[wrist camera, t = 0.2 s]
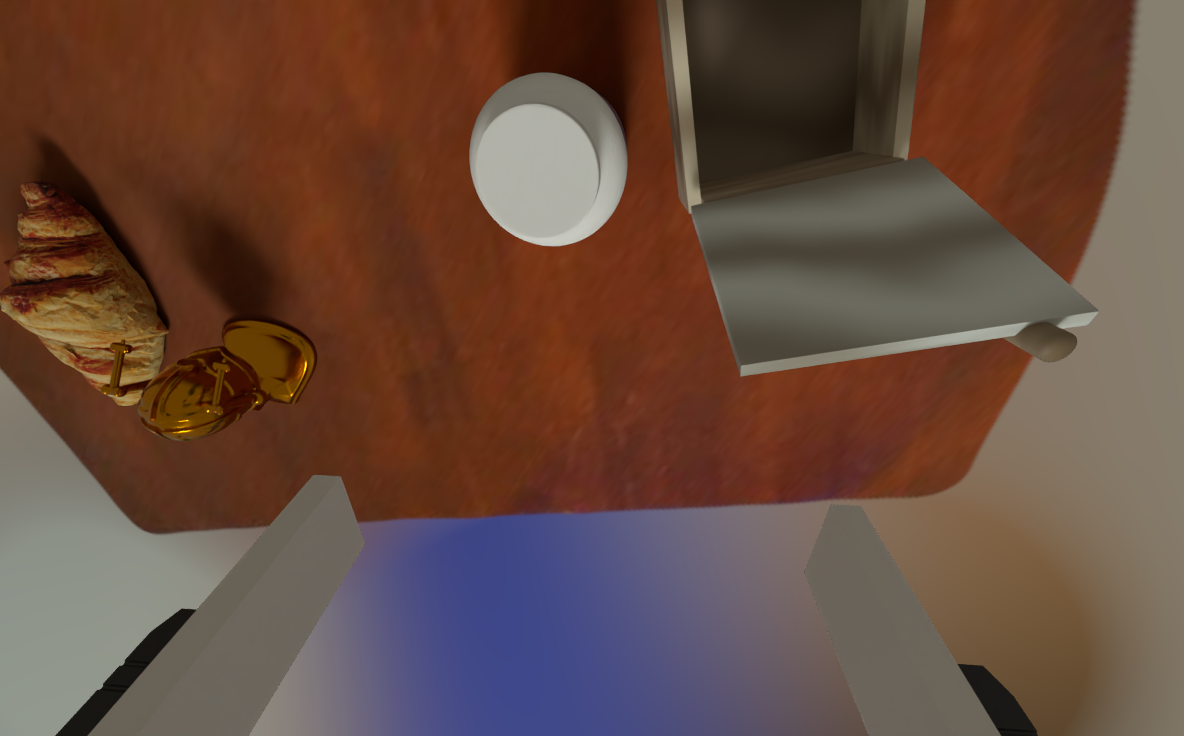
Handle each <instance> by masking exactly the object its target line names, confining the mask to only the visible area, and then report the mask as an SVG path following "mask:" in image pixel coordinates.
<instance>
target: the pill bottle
mask: <svg viewBox="0 0 1184 736" xmlns="http://www.w3.org/2000/svg"><path fill="white" fill-rule="evenodd" d="M627 167H628V163H627V144H626V137H625V132H624V129H623V125H622V123H621V121H620V119H619V117H618V115H617V113H616V111H615V110H614V108H613V107H612V106H611V105H610V104H609V102H608V101H607V100H606V99H605V98H604V97H602V96H601V95H600V94H598V93H597V92H596V91H594V90H593V89H591V88H590V87H589V86H587V85H585V84H584V83H582V82H580V81H578V80H576V79H573V78H570V77H567V76H564V75H561V74H556V73H534V74H529V75H525V76H521V77H519V78H516V79H514V80H512V81H510V82H508V83H507V84H505V85H504V86H502V87H501V88H500V89H498V90H497V91H496V92H495V93H494V94H493V95H492V96H491V97H490V99H489V100H488V101H487V102H486V104H485V105H484V107H483V108H482V110H481V111H480V113H479V115H478V117H477V120H476V122H475V125H474V128H473V132H472V136H471V142H470V168H471V175H472V179H473V182H474V186H475V188H476V191H477V193H478V196H479V198H480V200H481V202H482V203H483V205H484V207H485V208H486V210H487V211H488V212H489V214H490V215H491V216H492V217H493V219H494V220H495V221H496V222H497V223H498V224H499V225H500V226H502V227H503V228H504V229H505V230H506V231H508V232H509V233H511V234H513V235H514V236H516V237H518V238H520V239H522V240H525V241H528V242H530V243H534V244H538V245H543V246H562V245H567V244H571V243H575V242H577V241H580V240H582V239H584V238H586V237H588V236H590V235H591V234H593V233H594V232H596V231H597V230H598V229H599V228H600V227H601V226H602V225H603V224H604V223H605V222H606V221H607V220H608V219H609V217H610V216H611V215H612V213H613V212H614V210H615V208H616V207H617V205H618V203H619V200H620V198H621V196H622V193H623V190H624V186H625V182H626V176H627Z"/></svg>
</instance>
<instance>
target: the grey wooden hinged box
mask: <svg viewBox="0 0 1184 736" xmlns="http://www.w3.org/2000/svg"><path fill="white" fill-rule="evenodd" d="M925 2H926V0H656V4H657V12H658V21H659V30H660V38H661V47H662V55H663V64H664V73H665V81H666V90H667V99H668V107H669V116H670V124H671V133H672V142H673V150H674V159H675V168H676V176H677V185H678V194H679V199H680V201H681V202H682V204H683V205H684V207H685V208H686V210H687V211H688V213H689V214H690V213H692V219H693V222H694V226H695V229H696V232H697V235H698V239H699V242H700V245H701V249H702V252H703V255H704V258H705V262H706V265H707V268H708V271H709V275H710V278H711V281H712V285H713V288H714V291H715V294H716V298H717V301H718V304H719V307H720V311H721V314H722V317H723V321H724V324H725V327H726V330H727V334H728V337H729V340H730V344H731V347H732V350H733V353H734V357H735V360H736V363H737V366H738V370H739V373H740V376H746V375H753V374H760V373H767V372H773V371H780V370H787V369H794V368H800V367H807V366H814V365H821V364H827V363H834V362H841V361H847V360H854V359H861V358H868V357H874V356H881V355H888V354H895V353H901V352H908V351H915V350H922V349H928V348H935V347H942V346H949V345H955V344H962V343H969V342H975V341H982V340H989V339H996V338H1004V339H1006V340H1007V341H1009V342H1011V343H1013V344H1014V345H1016V346H1018V347H1019V348H1021V349H1023V350H1025V351H1026V352H1028V353H1030V354H1031V355H1033V356H1035V357H1037V358H1038V359H1040V360H1042V361H1044V362H1055V361H1059V360H1061V359H1063V358H1065V357H1067V356H1068V355H1069V354H1070V353H1071V352H1072V351H1073V350H1074V349H1075V347H1076V345H1077V338H1076V336H1075V335H1073V334H1072V333H1069V332H1067V331H1065V330H1063V328H1069V327H1076V326H1083V325H1088V324H1089V323H1090V322H1091V320H1092V319H1093V318H1094V317H1095V316H1096V315H1097V313H1098V312H1099V310H1098V309H1096V308H1095V307H1094V306H1093V305H1092V304H1091V303H1090V302H1088V301H1087V300H1086V299H1085V298H1084V297H1083V296H1082V295H1080V294H1079V293H1078V292H1077V291H1076V290H1075V289H1074V288H1072V287H1071V286H1070V285H1069V284H1068V283H1067V282H1066V281H1065V280H1063V279H1062V278H1061V277H1060V276H1059V275H1058V274H1057V273H1055V272H1054V271H1053V270H1052V269H1051V268H1050V267H1049V266H1047V265H1046V264H1045V263H1044V262H1043V261H1042V260H1041V259H1039V258H1038V257H1037V256H1036V255H1035V254H1034V253H1033V252H1031V251H1030V250H1029V249H1028V248H1027V247H1026V246H1025V245H1023V244H1022V243H1021V242H1020V241H1019V240H1018V239H1017V238H1015V237H1014V236H1013V235H1012V234H1011V233H1010V232H1009V231H1007V230H1006V229H1005V228H1004V227H1003V226H1002V225H1001V224H999V223H998V222H997V221H996V220H995V219H994V218H993V217H991V216H990V215H989V214H988V213H987V212H986V211H985V210H983V209H982V208H981V207H980V206H979V205H978V204H977V203H975V202H974V201H973V200H972V199H971V198H970V197H969V196H968V195H966V194H965V193H964V192H963V191H962V190H961V189H960V188H958V187H957V186H956V185H955V184H954V183H953V182H952V181H950V180H949V179H948V178H947V177H946V176H945V175H944V174H942V173H941V172H940V171H939V170H938V169H937V168H936V167H934V166H933V165H932V164H931V163H930V162H929V161H928V160H926V159H925V158H924V157H919V158H915V159H910V160H907V158H908V150H909V141H910V132H911V124H912V115H913V106H914V98H915V89H916V80H917V72H918V63H919V54H920V46H921V37H922V28H923V19H924V11H925Z"/></svg>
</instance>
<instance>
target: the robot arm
mask: <svg viewBox="0 0 1184 736" xmlns="http://www.w3.org/2000/svg"><path fill="white" fill-rule="evenodd" d="M364 545H365V543H364V540H363V537H362V534H361V532H360V529H359V526H358V523H357V521H356V518H355V515H354V512H353V509H352V507H351V504H350V501H349V498H348V495H347V493H346V490H345V487H344V484H343V482H342V479H341V476H324V475H313V476H312V477H311V479H310V480H309V481H308V482H307V483H306V484H305V485H304V487H303V488H302V489H301V490H300V491H299V492H298V494H297V495H296V496H295V497H294V498H293V499H292V500H291V502H290V503H289V504H288V505H287V506H286V507H285V509H284V510H283V511H282V512H281V513H280V514H279V515H278V517H277V518H276V519H275V520H274V521H273V522H272V524H271V525H270V526H269V527H268V528H267V529H266V530H265V532H264V533H263V534H262V535H261V536H260V537H259V539H258V540H257V541H256V542H255V543H254V544H253V546H252V547H251V548H250V549H249V550H248V551H247V552H246V554H245V555H244V556H243V557H242V558H241V559H240V561H239V562H238V563H237V564H236V565H235V566H234V567H233V569H232V570H231V571H230V572H229V573H228V574H227V575H226V577H225V578H224V579H223V580H222V581H221V582H220V584H219V585H218V586H217V587H216V588H215V589H214V591H213V592H212V593H211V594H210V595H209V596H208V597H207V599H206V600H205V601H204V602H203V603H202V605H200V607H199V608H198V609H197V610H193V609H181V610H179V611H178V612H177V613H175V614H174V615H173V616H171V617H170V618H169V619H167V620H166V621H165V622H163V623H162V624H161V625H159V626H158V627H157V628H155V629H154V630H153V631H151V632H150V633H149V634H148V636H147V637H146V638H145V639H144V640H143V641H142V642H141V643H140V644H139V645H138V646H137V647H136V649H135V650H134V651H133V652H132V653H131V654H130V655H129V656H128V657H127V658H126V659H125V663H124V665H122V666H119V667H118V668H117V669H116V670H115V671H114V672H113V674H112V675H111V676H110V677H109V678H108V679H107V680H106V681H105V682H104V683H103V687H102V688H101V689H100V690H97V691H96V692H95V693H94V694H93V695H92V696H91V698H90V699H89V700H88V701H87V702H86V703H85V704H84V705H83V706H82V707H81V708H80V710H79V711H78V712H77V713H76V714H75V715H74V716H73V717H72V718H71V719H70V720H69V722H67V724H66V725H65V726H64V727H63V728H62V729H61V730H60V731H59V732H58V734H56V736H249V734H250V732H251V731H252V729H253V727H254V726H255V724H256V723H257V721H258V719H259V718H260V716H261V714H262V713H263V711H264V709H265V708H266V706H267V705H268V703H269V701H270V699H271V698H272V696H273V695H274V693H275V691H276V690H277V688H278V686H279V685H280V683H281V681H282V680H283V678H284V676H285V675H286V673H287V671H288V670H289V668H290V667H291V665H292V663H293V662H294V660H295V658H296V657H297V655H298V653H299V652H300V650H301V648H302V647H303V645H304V643H305V641H306V640H307V638H308V637H309V635H310V633H311V632H312V630H313V629H314V627H315V625H316V624H317V622H318V620H319V619H320V617H321V615H322V614H323V612H324V611H325V609H326V607H327V606H328V604H329V602H330V601H331V599H332V597H333V596H334V594H335V592H336V591H337V589H338V587H339V586H340V584H341V582H342V581H343V579H344V578H345V576H346V574H347V572H348V571H349V569H350V567H351V566H352V564H353V563H354V561H355V559H356V558H357V556H358V554H359V553H360V551H361V550H362V548H363V546H364ZM804 574H805V576H806V579H807V581H808V584H809V586H810V589H811V591H812V594H813V596H814V599H815V601H816V604H817V607H818V609H819V611H820V614H821V617H822V619H823V622H824V624H825V627H826V629H827V632H828V634H829V637H830V639H831V642H832V644H833V647H834V649H835V652H836V654H837V657H838V660H839V662H840V664H841V667H842V670H843V672H844V675H845V677H846V680H847V682H848V685H849V687H850V690H851V692H852V695H853V697H854V700H855V702H856V705H857V707H858V710H859V713H860V715H861V718H862V720H863V723H864V725H865V728H866V730H867V732H868V735H869V736H1038V735H1037V731H1036V729H1035V728H1034V726H1033V725H1032V723H1031V721H1030V720H1029V719H1028V717H1027V716H1026V714H1025V713H1024V712H1023V710H1022V708H1021V707H1020V705H1019V704H1018V702H1017V701H1016V699H1015V698H1014V696H1013V695H1012V694H1011V693H1010V692H1009V691H1008V690H1007V689H1006V688H1004V686H1003V685H1002V684H1001V683H1000V682H999V681H998V680H997V679H996V678H994V676H992V674H991V673H990V672H988V670H987V669H986V668H984V667H983V666H978V665H965V664H957V663H956V661H955V660H954V658H953V657H952V655H951V653H950V652H949V650H948V648H947V647H946V645H945V643H944V642H943V640H942V638H941V637H940V635H939V633H938V632H937V630H936V629H935V627H934V625H933V623H932V622H931V620H930V619H929V617H928V615H927V614H926V612H925V611H924V609H923V607H922V606H921V604H920V602H919V601H918V599H917V597H916V596H915V594H914V592H913V591H912V589H911V587H910V586H909V584H908V583H907V581H906V579H905V578H904V576H903V574H902V573H901V571H900V569H899V568H898V566H897V564H896V563H895V561H894V560H893V558H892V556H891V555H890V553H889V551H888V550H887V548H886V547H885V545H884V543H883V542H882V540H881V538H880V537H879V535H878V533H877V532H876V530H875V528H874V527H873V525H872V524H871V522H870V520H869V519H868V517H867V515H866V514H865V512H864V510H863V509H862V507H861V506H847V505H830V508H829V511H828V513H827V515H826V518H825V520H824V523H823V525H822V528H821V531H820V533H819V536H818V538H817V540H816V543H815V546H814V548H813V551H812V553H811V556H810V558H809V561H808V563H807V566H806V568H805V571H804Z"/></svg>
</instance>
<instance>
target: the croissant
mask: <svg viewBox="0 0 1184 736" xmlns="http://www.w3.org/2000/svg"><path fill="white" fill-rule="evenodd" d="M20 192H21V194H22V195H23V197H24V198H25V199H26V203H27V205H28V208H27V209H26V210H24V211H23V212H22V213H20V214H18V223H17V225H18V230H19V232H20V235H21V236H19V237H18V243H19V246H18V247H17V250H16V252H15V253H14V254H13V256H12V258H11V259H10V260H6V262H3V263H4V264H5V266H6V267H7V271H8V274H9V277H10V280H11V282H12V285H10V286H9V287H7V288H5V289H4V290H3V292H2V293H1V294H0V303H1V308H2V309H1V310H2V311H3V312H6V313H7V314H8V315H9V316H10V317H12V319H13V320H16V321H17V322H18V323H19V324H21V325H22V326H23V327H24V328H26V329H27V330H29V331H31V332H33V333H35V334H37V336H38V337H39V339H40V341H41V342H42V343H43V344H44V345H45V346H46V347H47V348H48V350H49V351H51V352H52V353H53V354H54V355H55V356H56V357H57V358H58V359H59V360H61V361H62V362H63V363H65V364H67V365H69V366H71V367H73V368H75V369H76V370H78V371H80V372H81V373H82V374H83V376H84V377H85V379H86V381H87V382H88V383H89V384H90V385H91V386H93V387H94V388H96V389H98V390H99V391H101V387H102V386H103V385H104V384H110V379H111V374H112V368H113V362H114V356H115V351H111V350H110V344H111V343H113V342H117V343H120V342H121V340H122V339H123V340H125V344H128V345H131V346H132V347H133V350H132V352H131V353H129V354H126V353H125V356H124V362H123V367H122V373H121V379H120V385H119V386H121V385H126V384H130V383H135V382H139V381H144V380H148V379H153V378H154V377H155V376H157V375H158V373H159V370H160V366H161V363H162V360H163V357H164V340H165V334H167V333H168V329H167V328H166V326H165V325H164V324H163V323H162V321H161V319H160V318H159V317H158V315H157V307H156V303H155V300H154V298H153V296H152V295H151V293H150V291H149V289H148V287H147V285H146V283H145V281H144V280H143V279H142V278H141V277H140V275H139V274H138V273H137V272H136V271H135V270H134V269H133V268H132V267H131V265H130V264H129V262H128V261H127V259H126V258H125V256H124V255H123V254H122V253H121V251H120V250H119V249H118V248H117V247H116V245H115V243H114V241H113V240H112V238H111V237H110V236H109V235H108V234H107V233H106V231H105V230H104V228H103V226H101V224H100V223H99V222H98V221H97V219H96V218H95V217H94V216H93V215H92V214H91V213H90V212H89V211H88V210H87V209H85V208H84V207H83V206H81V205H80V204H79V203H77V202H76V201H75V200H74V199H73V198H71V197H70V196H69V195H67V194H66V193H65V192H63V191H62V190H61V189H60V188H59V187H58V186H57V185H54V184H50V183H47V182H45V181H41V182H30V183H23V184H22V185H21V186H20ZM142 392H143V390H137V391H129V392H127V394H126V395H125V396H123V397H116V396H114V395H108V396H111V397H112V398H113V399H114V401H115V402H116V403H117V404H118V405H123V406H127V405H133V404H136V403H138V401H139V400H140V398H141V394H142Z"/></svg>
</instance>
